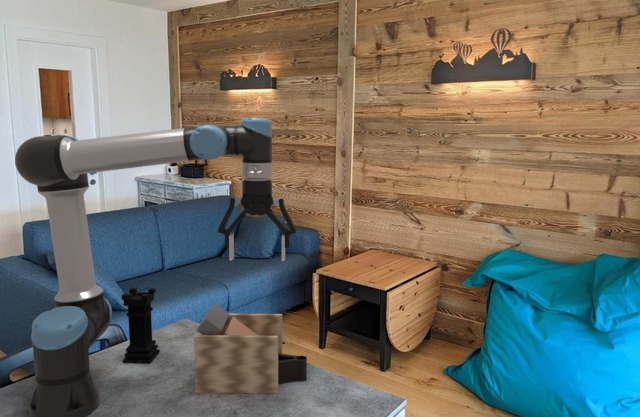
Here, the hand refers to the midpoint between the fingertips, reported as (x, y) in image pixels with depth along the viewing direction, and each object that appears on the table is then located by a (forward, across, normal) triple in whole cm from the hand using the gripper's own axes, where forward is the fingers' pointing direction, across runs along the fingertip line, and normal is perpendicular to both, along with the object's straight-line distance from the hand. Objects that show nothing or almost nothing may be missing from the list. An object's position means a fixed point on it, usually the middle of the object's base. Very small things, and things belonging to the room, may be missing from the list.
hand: (257, 259), depth 136 cm
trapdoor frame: (+33, -5, 0) cm, 33 cm away
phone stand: (+30, +1, -1) cm, 30 cm away
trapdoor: (+23, -8, 0) cm, 24 cm away
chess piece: (+33, -36, +11) cm, 50 cm away
